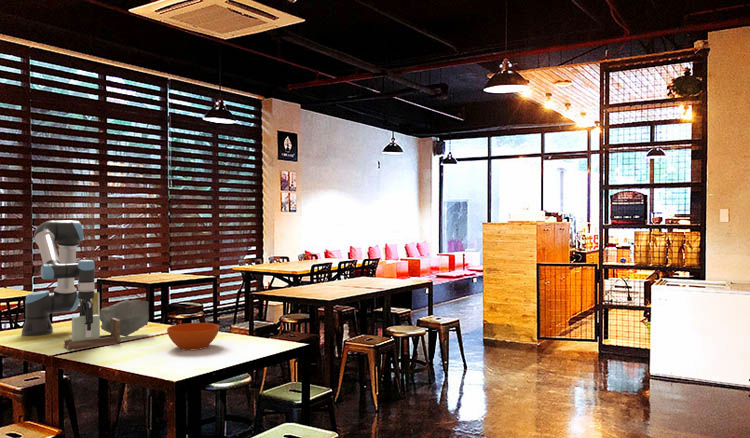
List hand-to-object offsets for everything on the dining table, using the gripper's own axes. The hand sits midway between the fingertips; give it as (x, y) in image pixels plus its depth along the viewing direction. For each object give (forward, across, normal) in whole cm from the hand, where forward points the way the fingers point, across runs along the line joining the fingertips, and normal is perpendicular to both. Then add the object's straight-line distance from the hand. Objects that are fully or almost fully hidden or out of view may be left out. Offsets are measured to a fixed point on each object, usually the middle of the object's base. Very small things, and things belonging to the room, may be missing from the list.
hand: (86, 335), depth 295 cm
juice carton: (+5, -37, +12) cm, 39 cm away
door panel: (+4, 0, 0) cm, 4 cm away
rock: (+5, -12, +23) cm, 26 cm away
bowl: (+5, +38, +40) cm, 55 cm away
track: (+5, 0, +3) cm, 6 cm away
